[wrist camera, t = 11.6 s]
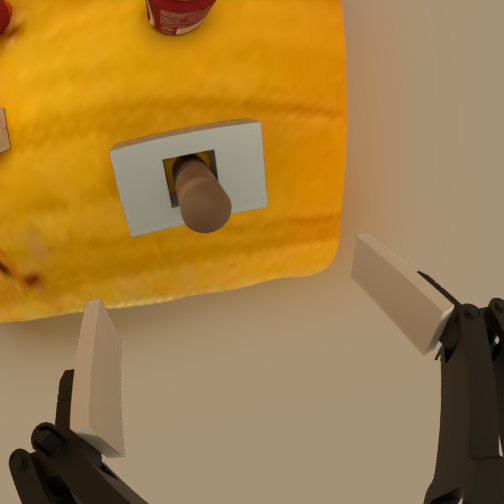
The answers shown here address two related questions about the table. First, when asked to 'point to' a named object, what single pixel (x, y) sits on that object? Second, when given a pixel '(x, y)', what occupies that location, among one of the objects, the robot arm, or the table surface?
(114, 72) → the table surface
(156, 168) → the socket block
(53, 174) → the table surface
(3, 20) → the coffee cup
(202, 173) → the peg
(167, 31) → the soda can
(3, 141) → the small box
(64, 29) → the table surface
